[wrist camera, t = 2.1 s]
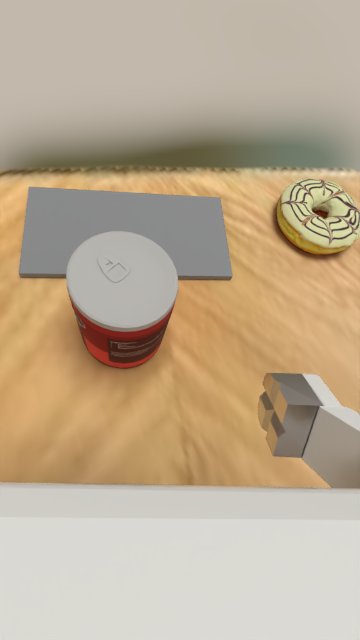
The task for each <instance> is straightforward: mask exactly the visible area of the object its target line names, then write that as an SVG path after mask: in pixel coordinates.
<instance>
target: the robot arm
mask: <svg viewBox="0 0 360 640" xmlns="http://www.w3.org/2000/svg"><path fill="white" fill-rule="evenodd" d="M263 386H264V388H265V392H264V393H263V394H262V395H261V396H260V397H259V402H258V418H259V422H260V425H261V427H262V428H263V429H264V430H265V431H267V436H266V440H267V443H268V445H269V448H270V450H271V453H272V455H273V456H278V457H296V458H302V460H303V461H304V462H305V463H306V464H307V465H309V466H310V467H311V468H312V469H313V470H314V471H315V472H316V473H317V474H318V475H319V476H320V477H321V478H322V479H323V480H324V481H325V482H327V483H328V484H329V485H330V486H331V487H332V488H303V487H249V486H194V485H136V484H76V483H21V482H0V640H360V414H359V413H357V412H355V411H353V410H352V409H350V408H348V407H342V406H341V404H340V403H339V402H338V400H337V399H336V398H335V396H334V395H333V394H332V393H331V391H330V390H329V389H328V387H327V386H326V385H325V383H324V382H323V381H322V380H321V378H320V377H319V376H318V375H316V374H291V373H266V375H265V377H264V381H263Z"/></svg>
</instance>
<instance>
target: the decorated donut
mask: <svg viewBox="0 0 360 640" xmlns="http://www.w3.org/2000/svg"><path fill="white" fill-rule="evenodd" d="M316 214H317V215H316ZM318 215H319V216H318ZM277 221H278V224H279V227H280V229H281V230H282V232H283V233H284V235H285V236H286V238H287V239H288V240H289V241H290V242H292V243H293V244H294V245H295V246H297V247H299V248H300V249H302V250H304V251H307V252H310V253H313V254H332V253H336V252H339V251H343V250H345V249H347V248H349V247H350V246H351V245H352V244H353V243H354V241H355V240H358V238H359V235H360V212H359V209H358V207H357V205H356V203H355V202H354V200H353V199H352V198H351V196H350V195H349V194H348V193H347V192H346V191H344V190H343V189H342V188H341V187H340V186H339V185H338V184H336V183H334V182H330V181H325V180H320V179H311V178H307V179H302V180H298V181H296V182H293V183H292V184H291V185H290V186H288V187H287V188H286V189H285V190H284V192H283V193H282V195H281V196H280V198H279V200H278V205H277Z"/></svg>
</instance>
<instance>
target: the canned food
mask: <svg viewBox="0 0 360 640" xmlns="http://www.w3.org/2000/svg"><path fill="white" fill-rule="evenodd" d="M66 279H67V289H68V292H69V297H70V300H71V303H72V306H73V310H74V313H75V316H76V319H77V322H78V325H79V328H80V331H81V334H82V338H83V341H84V343H85V345H86V347H87V349H88V350H89V351H90V352H91V354H92V355H93V356H94V357H96V358H97V359H98V360H100V361H101V362H103V363H105V364H107V365H111V366H114V367H122V368H126V367H133V366H137V365H140V364H142V363H144V362H146V361H147V360H148V359H150V358H151V357H152V356H153V355H154V354H155V353H156V351H157V350H158V348H159V346H160V344H161V341H162V338H163V336H164V333H165V330H166V327H167V324H168V322H169V319H170V316H171V313H172V310H173V308H174V304H175V301H176V296H177V292H178V277H177V272H176V269H175V266H174V264H173V262H172V260H171V259H170V257H169V256H168V254H167V253H166V252H165V251H164V250H163V249H162V248H161V247H160V246H159V245H157V244H156V243H155V242H153V241H152V240H150V239H148V238H146V237H144V236H141V235H138V234H135V233H131V232H124V231H111V232H106V233H101V234H98V235H96V236H93V237H91V238H89V239H88V240H86V241H84V242H83V243H82V244H81V245H80V246H79V247H78V248H77V249H76V250H75V252H74V253H73V254H72V256H71V258H70V260H69V263H68V266H67V272H66Z"/></svg>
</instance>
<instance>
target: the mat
mask: <svg viewBox="0 0 360 640" xmlns="http://www.w3.org/2000/svg"><path fill="white" fill-rule="evenodd" d="M111 231H124V232H131V233H135V234H138V235H141V236H144V237H146V238H148V239H150V240H152V241H153V242H155V243H156V244H157V245H159V246H160V247H161V248H162V249H163V250H164V251H165V252H166V253H167V254H168V256H169V257H170V259H171V260H172V262H173V264H174V266H175V269H176V272H177V277H178V279H202V280H231V278H232V270H231V263H230V257H229V251H228V244H227V238H226V232H225V225H224V219H223V212H222V206H221V200H220V198H216V197H199V196H181V195H164V194H147V193H129V192H112V191H94V190H77V189H59V188H42V187H29V191H28V199H27V208H26V216H25V225H24V233H23V241H22V250H21V258H20V267H19V275H20V277H32V278H66V272H67V266H68V263H69V260H70V258H71V256H72V254H73V253H74V252H75V250H76V249H77V248H78V247H79V246H80V245H81V244H82V243H83V242H84V241H86V240H88V239H89V238H91V237H93V236H96V235H98V234H101V233H106V232H111Z"/></svg>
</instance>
